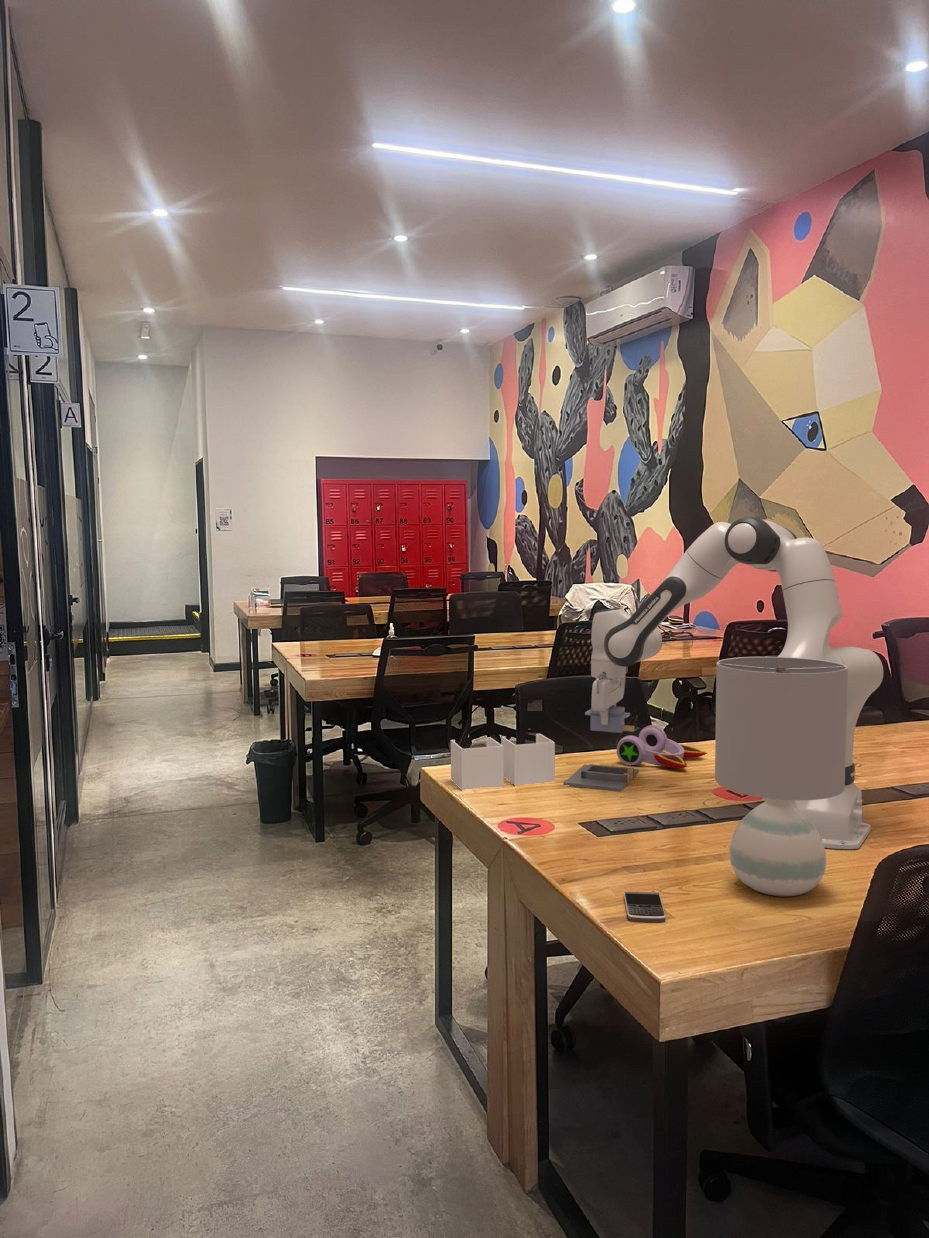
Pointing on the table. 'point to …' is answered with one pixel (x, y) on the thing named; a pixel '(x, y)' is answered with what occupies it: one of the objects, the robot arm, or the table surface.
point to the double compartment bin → (503, 763)
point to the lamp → (780, 762)
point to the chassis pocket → (602, 777)
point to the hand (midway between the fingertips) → (607, 722)
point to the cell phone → (644, 907)
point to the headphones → (654, 749)
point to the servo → (610, 720)
